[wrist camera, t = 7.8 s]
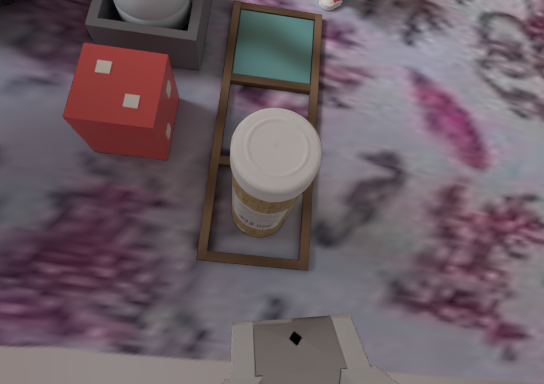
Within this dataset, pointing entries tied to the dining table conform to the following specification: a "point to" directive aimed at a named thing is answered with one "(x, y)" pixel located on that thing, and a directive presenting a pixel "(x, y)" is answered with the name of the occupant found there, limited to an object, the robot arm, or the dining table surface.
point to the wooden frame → (275, 75)
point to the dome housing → (151, 33)
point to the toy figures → (330, 4)
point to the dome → (155, 12)
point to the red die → (123, 101)
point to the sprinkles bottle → (271, 168)
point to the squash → (6, 1)
